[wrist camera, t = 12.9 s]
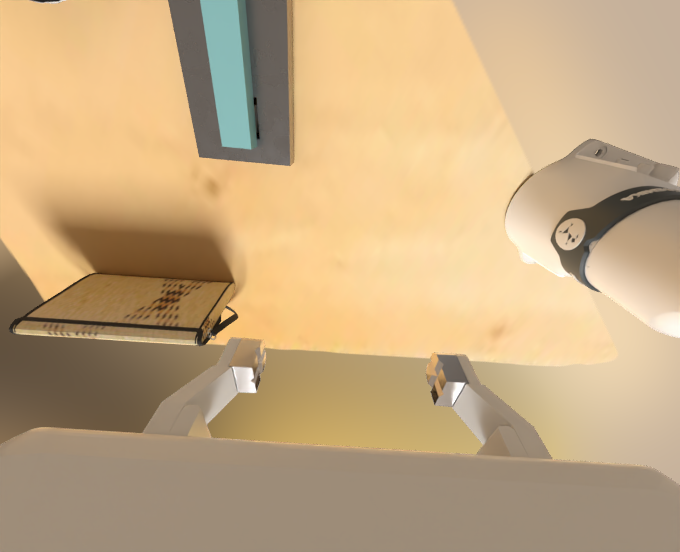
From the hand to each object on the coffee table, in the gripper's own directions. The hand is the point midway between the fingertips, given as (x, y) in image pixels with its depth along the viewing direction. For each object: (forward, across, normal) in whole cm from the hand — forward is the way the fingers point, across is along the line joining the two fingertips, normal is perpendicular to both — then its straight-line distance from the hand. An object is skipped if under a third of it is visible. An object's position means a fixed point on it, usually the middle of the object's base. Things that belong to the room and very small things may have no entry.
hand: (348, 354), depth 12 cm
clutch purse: (+32, +32, +22) cm, 50 cm away
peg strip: (+31, +14, -15) cm, 37 cm away
